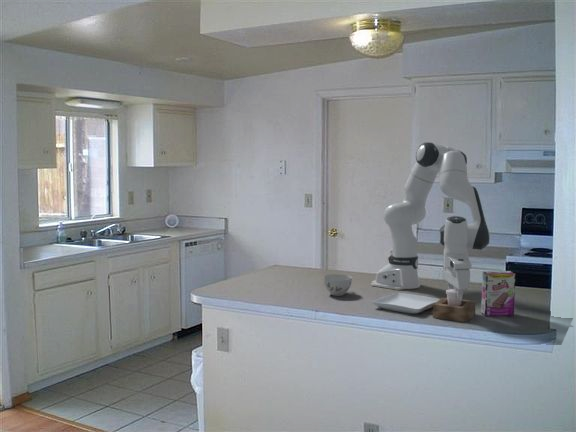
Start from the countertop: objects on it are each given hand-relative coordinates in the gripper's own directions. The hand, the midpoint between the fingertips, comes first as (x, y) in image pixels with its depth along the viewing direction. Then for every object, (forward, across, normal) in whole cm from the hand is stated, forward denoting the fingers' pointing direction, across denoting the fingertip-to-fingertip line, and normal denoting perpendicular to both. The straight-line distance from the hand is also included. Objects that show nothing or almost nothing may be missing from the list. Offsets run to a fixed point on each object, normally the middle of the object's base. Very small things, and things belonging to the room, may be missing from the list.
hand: (455, 296), depth 228 cm
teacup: (+8, -40, -39) cm, 56 cm away
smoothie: (+8, 0, 0) cm, 8 cm away
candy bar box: (+8, 0, +16) cm, 18 cm away
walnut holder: (+7, 0, 0) cm, 7 cm away
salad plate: (+8, -14, -15) cm, 22 cm away
